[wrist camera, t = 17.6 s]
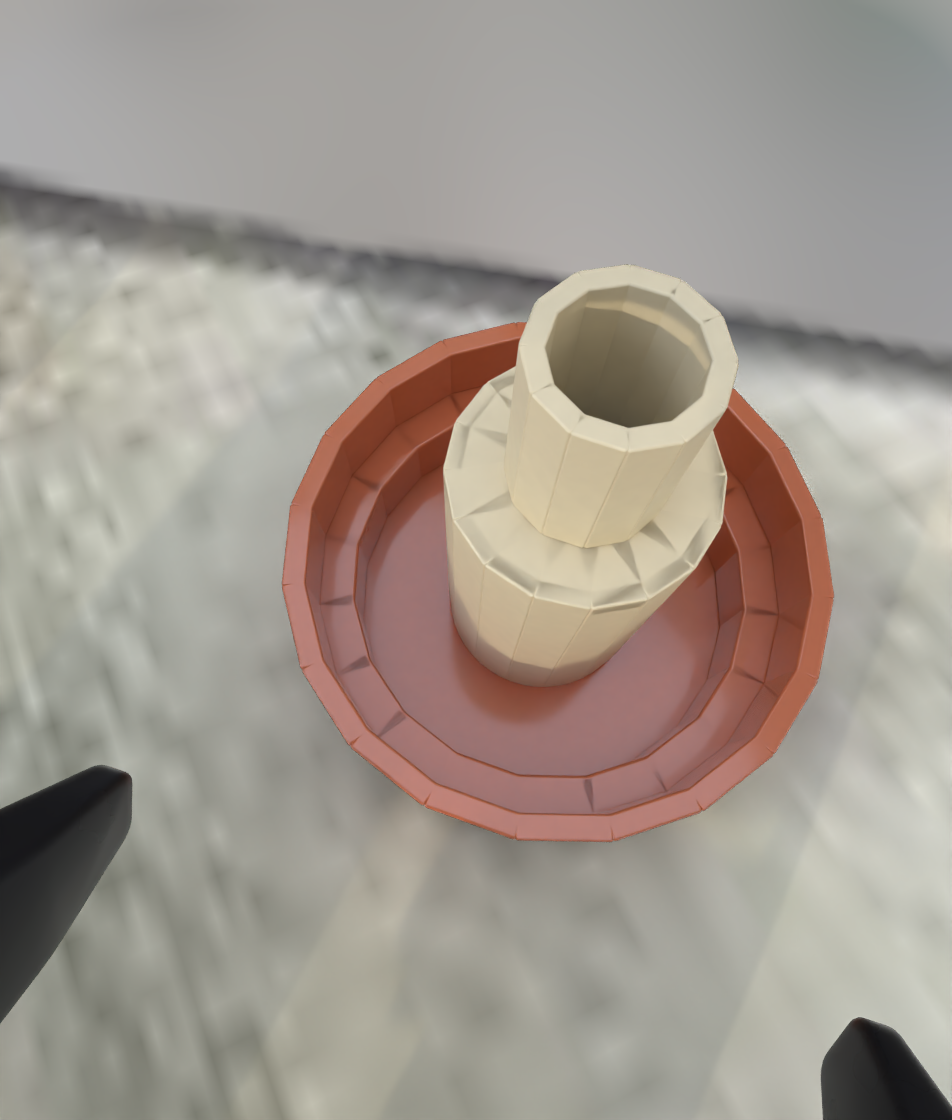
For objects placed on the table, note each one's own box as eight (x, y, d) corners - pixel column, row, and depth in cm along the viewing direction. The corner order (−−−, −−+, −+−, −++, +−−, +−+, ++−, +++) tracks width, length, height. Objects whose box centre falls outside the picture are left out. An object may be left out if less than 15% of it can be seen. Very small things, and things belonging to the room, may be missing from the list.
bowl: (487, 942, 21) (494, 979, 16) (238, 550, 24) (185, 485, 20) (850, 657, 24) (947, 617, 19) (579, 344, 27) (603, 245, 23)
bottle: (468, 702, 22) (478, 560, 10) (437, 530, 24) (413, 229, 12) (649, 669, 23) (873, 492, 10) (605, 503, 24) (751, 184, 12)
